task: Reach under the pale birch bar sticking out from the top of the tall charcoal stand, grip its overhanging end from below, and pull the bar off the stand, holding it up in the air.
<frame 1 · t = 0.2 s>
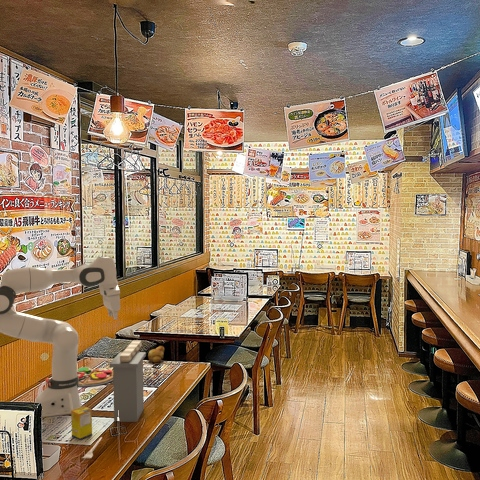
hand: (113, 317, 247), 40 cm above the table, tool pointing down, fingers open, 8 cm apart
bread roll: (155, 361, 312), on the table
charcoal stand: (129, 415, 229), on the table
toy pizza: (91, 379, 279), on the table
fork: (93, 450, 196), on the table
birch bar: (131, 354, 233), point 26 cm above the table, touching charcoal stand
supplement box: (81, 436, 208), on the table
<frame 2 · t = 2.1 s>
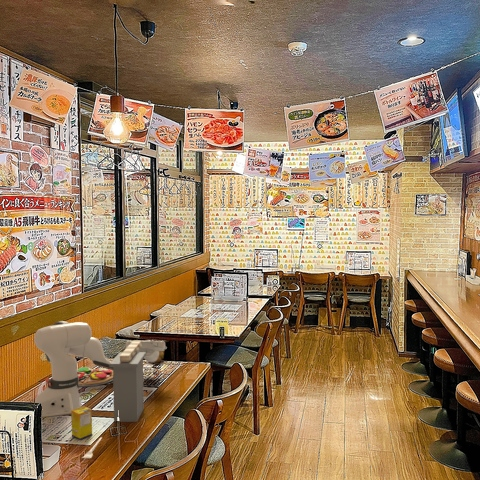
hand: (143, 341, 260), 25 cm above the table, tool pointing upward, fingers open, 8 cm apart
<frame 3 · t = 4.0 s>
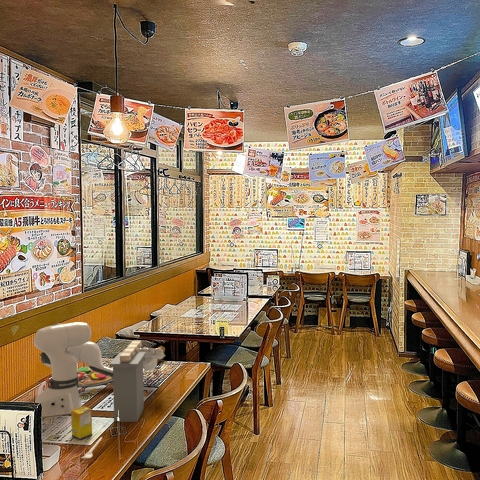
hand: (140, 349, 249), 24 cm above the table, tool pointing upward, fingers open, 8 cm apart
nothing on the table moved.
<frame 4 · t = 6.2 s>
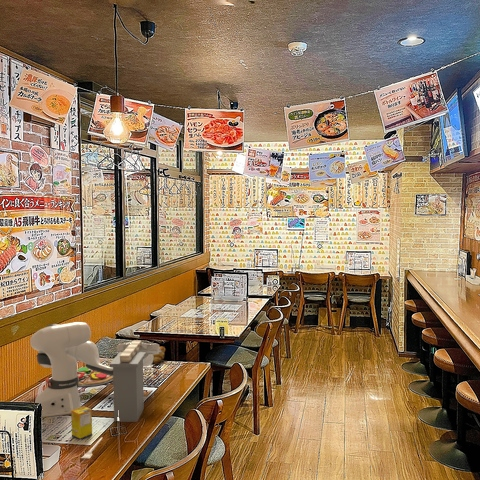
hand: (135, 344, 242), 28 cm above the table, tool pointing upward, fingers closed on birch bar, 4 cm apart
birch bar: (131, 354, 233), point 26 cm above the table, touching charcoal stand, gripper
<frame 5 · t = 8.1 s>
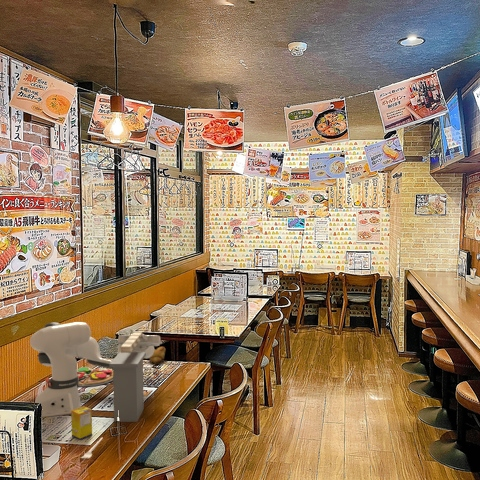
hand: (136, 336, 243), 32 cm above the table, tool pointing upward, fingers closed on birch bar, 4 cm apart
birch bar: (132, 345, 234), point 30 cm above the table, touching gripper
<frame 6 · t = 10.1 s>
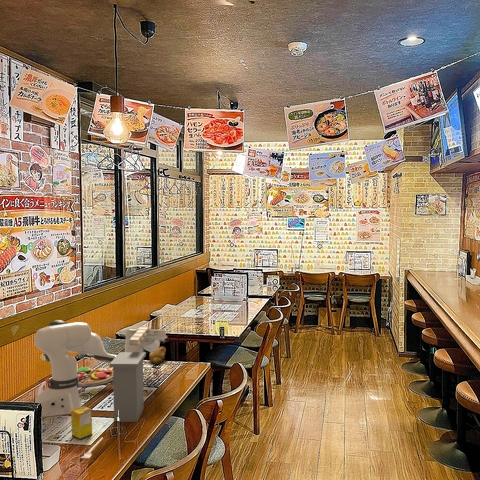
hand: (143, 330, 256), 31 cm above the table, tool pointing upward, fingers closed on birch bar, 4 cm apart
birch bar: (139, 338, 247), point 29 cm above the table, touching gripper
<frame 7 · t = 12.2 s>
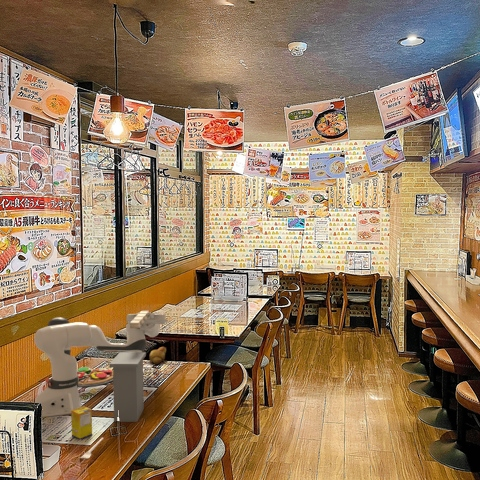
hand: (143, 314, 261), 38 cm above the table, tool pointing upward, fingers closed on birch bar, 4 cm apart
birch bar: (140, 322, 252), point 36 cm above the table, touching gripper
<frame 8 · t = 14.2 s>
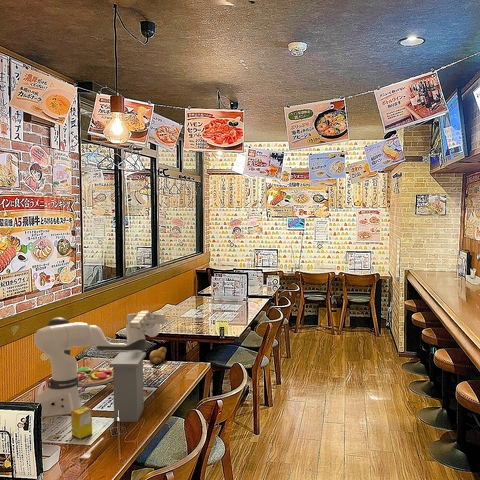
hand: (143, 314, 261), 38 cm above the table, tool pointing upward, fingers closed on birch bar, 4 cm apart
birch bar: (140, 322, 252), point 36 cm above the table, touching gripper
at the end: the gripper is holding birch bar; birch bar touching gripper; birch bar moved 22.5 cm from its start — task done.
